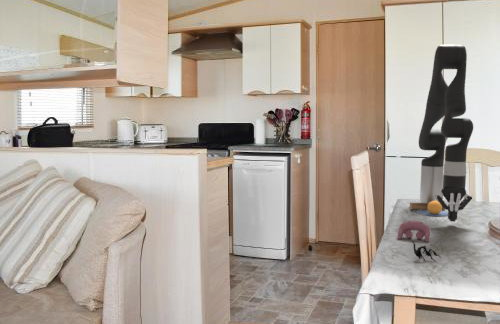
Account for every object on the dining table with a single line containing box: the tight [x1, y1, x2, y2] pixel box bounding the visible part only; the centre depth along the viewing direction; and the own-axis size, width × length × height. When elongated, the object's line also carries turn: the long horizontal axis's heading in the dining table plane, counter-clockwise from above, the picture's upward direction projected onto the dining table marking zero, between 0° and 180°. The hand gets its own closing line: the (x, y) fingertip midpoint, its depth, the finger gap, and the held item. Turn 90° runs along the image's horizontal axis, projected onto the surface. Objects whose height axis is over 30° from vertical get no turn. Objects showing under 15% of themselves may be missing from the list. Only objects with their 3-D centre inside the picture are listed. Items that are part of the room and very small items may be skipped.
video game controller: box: [397, 220, 431, 243], centre depth 161 cm, size 10×5×7 cm, turn 66°
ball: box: [427, 201, 443, 214], centre depth 201 cm, size 6×6×6 cm
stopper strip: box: [409, 202, 446, 211], centre depth 211 cm, size 2×14×2 cm, turn 87°
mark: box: [415, 209, 448, 217], centre depth 203 cm, size 13×13×1 cm
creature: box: [411, 241, 442, 264], centre depth 138 cm, size 8×5×8 cm
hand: (452, 221), depth 181 cm, fingers closed
